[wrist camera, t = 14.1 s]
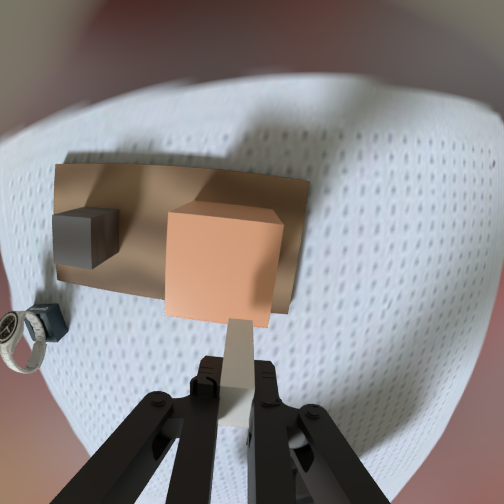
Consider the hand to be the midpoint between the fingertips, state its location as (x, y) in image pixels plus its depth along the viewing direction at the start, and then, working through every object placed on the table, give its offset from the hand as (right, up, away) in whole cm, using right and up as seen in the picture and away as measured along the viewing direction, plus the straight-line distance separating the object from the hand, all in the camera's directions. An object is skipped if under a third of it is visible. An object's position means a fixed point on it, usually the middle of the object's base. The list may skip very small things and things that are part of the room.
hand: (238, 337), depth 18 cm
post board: (-8, +7, +11) cm, 16 cm away
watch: (-28, -4, +14) cm, 32 cm away
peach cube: (-1, +6, +10) cm, 12 cm away
